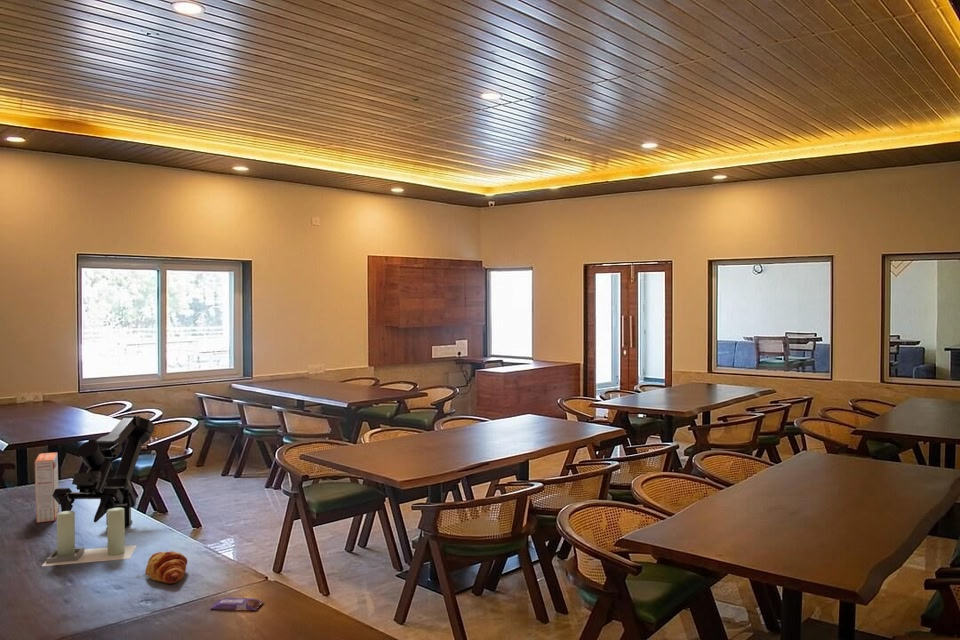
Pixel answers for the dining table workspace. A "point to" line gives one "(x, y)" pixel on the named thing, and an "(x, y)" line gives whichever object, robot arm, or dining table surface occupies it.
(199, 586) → the dining table surface
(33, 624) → the dining table surface
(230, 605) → the snack package
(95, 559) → the base plate
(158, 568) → the croissant
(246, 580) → the dining table surface
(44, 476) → the cracker box
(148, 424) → the robot arm
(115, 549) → the fixed pillar
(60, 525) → the pillar
